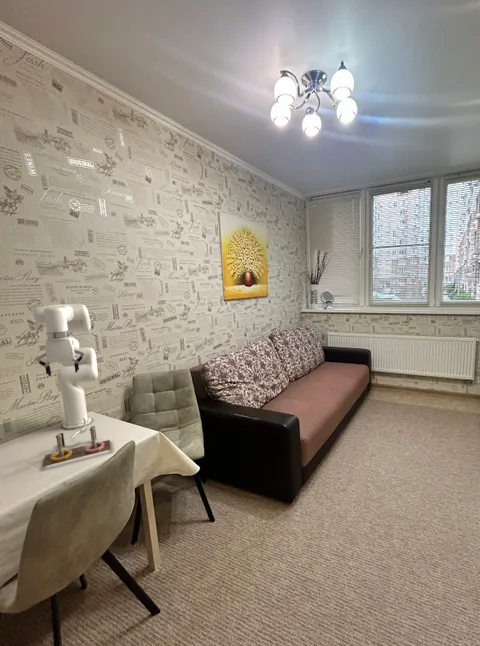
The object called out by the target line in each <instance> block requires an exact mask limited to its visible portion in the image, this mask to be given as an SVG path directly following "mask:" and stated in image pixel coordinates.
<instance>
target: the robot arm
mask: <svg viewBox="0 0 480 646" xmlns="http://www.w3.org/2000/svg"><path fill="white" fill-rule="evenodd" d="M32 316H33V319H34V321H35V323H37V324H45V330H46V331H45V332H46V337H47V338H46V339H45V347H44V348H45V352H43V353H42V354H40V355H38V356H37V357H35V360H36V361H37V363H39V365H41V366H42V367H44V368H45V374H46V375H47V376H48V377H51V376H52V370H51V365H50V364H52V363H59V362H60V363H61V365H62V366H63V367H60V368H59V369H58V370H57V372H56V378H57V381H58V383H59V386H60V392H61V397H62V403H63V410H64V417H65V421H64V422H63V423H62V428H63V429H67V430H68V429H69V430H72V429H78V428H83V427H84V420H83V419H80V418H81V417H84V418H85V419H86V426H87V425H88V424H90V423H91V422H92V417H90V416H88V411H87V402H86V395H85V389H84V388H83V386H81V385H79V384H83V383H91V382H94V381H96V380H97V379H98V376H99V370H98V360H97V359H98V358H97V353H96V350H95V349H94V348H93V347H90V346H89V347H87V346H85V347H80V342H79V340H78V339H77V338H75V337H74V336H73V334H84V333H89V332H90V331H91V329H92V323H91V317H90V313H89V309H88V307H87V306H86V305H85V304H83V303H66V304H65V303H63V304H62V303H61V304H52V305H43V306H42V305H41V306H36V307H34V309H33V311H32ZM44 358H45V359H46V362H45V361H44V360H42V359H44ZM79 419H80V420H79Z"/></svg>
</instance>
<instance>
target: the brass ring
mask: <svg viewBox="0 0 480 646" xmlns="http://www.w3.org/2000/svg"><path fill="white" fill-rule="evenodd" d="M58 434H60V435H61V436H62V437H61V439H62V446H63V453H69V454H67V455H65V456H63V457H59V458H55V456H57V455H58V454H59V452H58V451H56V452H53V453H54V454H52V453H51V454H52V455H51V458H50V459H51V461H60V460H64V459H66V458H68V457H70V456H71V455H72V450H69V449H67V448H66V443H65V437H64V432H59V433H58Z"/></svg>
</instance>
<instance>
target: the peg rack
mask: <svg viewBox="0 0 480 646" xmlns="http://www.w3.org/2000/svg"><path fill="white" fill-rule="evenodd" d="M95 431H96V427H95V428H94V427H92V426H91V427H90V428H89V432H90V438H91V443H92V446H91V447H90V448H88V449H91V450H92V449H96V448H98V447H100V446H101V445H96V442H97V440H96V439H97V436H96V437H95ZM61 437H62V436H61V435H60V434H59V433H58V434H56V435H55V439H56V444H57V452H59V454H58V455H57V456H55V458H59V457H63V456H65V455H67V454H69V453H63V446H62V439H61ZM101 442H103V443H104V448H102V449H101V450H99V451H96V452H92V453H88V452H85V447H86V446H87V445H88V444H86V445H81V446H78V447H73V448H70V449H69V448H68V450H72V455H71V456H70V457H68V458H66V459H64V460H60V461H51V459H50V458H51V455H52V454H54V453H55V452H52V453H48V454H45V456H44V459H43V463H42V465H41V467H42V468H44V467H48V466H52V465H54V464H55V465H56V464H59V463H63V462H67V461H71V460H76V459H79V458H82V457H86V456H90V455H95V454H99V453H102V452H106V451H110V450H111V440H110V439H106V440H103V441H101Z"/></svg>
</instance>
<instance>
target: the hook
mask: <svg viewBox="0 0 480 646" xmlns="http://www.w3.org/2000/svg"><path fill="white" fill-rule="evenodd" d="M80 419H83V420H84V426H82V429H81V431H85V429H86V426H87V425H86V419H85V418H84V417H81V418H80ZM80 419H79V420H80ZM79 432H80V430H78V431H76V432H74V433H73V435H71V436H70V437H67V438H66V440H70V439H72V440H74V439H75V440H78V439H79V438H77V437H75V436H76V435H78V433H79Z"/></svg>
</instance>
